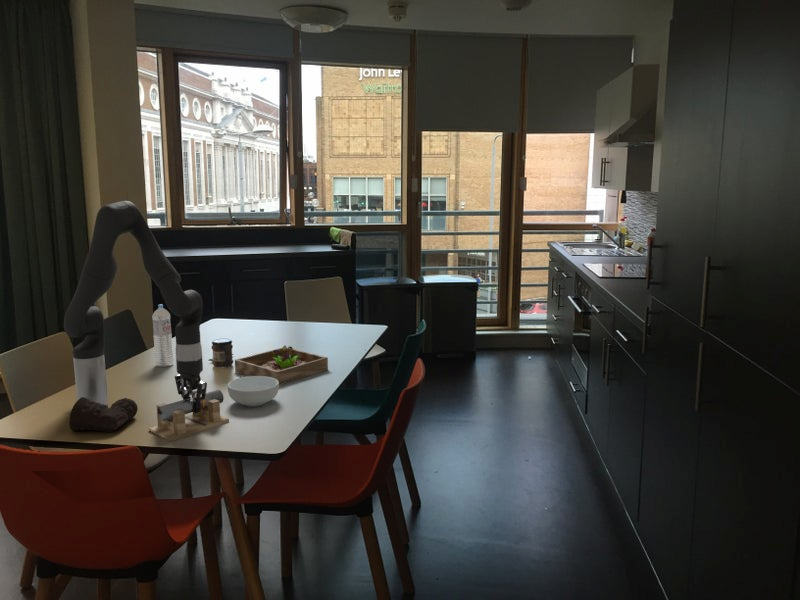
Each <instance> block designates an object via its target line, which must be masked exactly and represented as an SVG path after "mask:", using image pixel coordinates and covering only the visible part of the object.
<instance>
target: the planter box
mask: <svg viewBox="0 0 800 600" xmlns="http://www.w3.org/2000/svg"><path fill="white" fill-rule="evenodd" d="M282 348H283V347H281V348H276V349H272V350H269V351H264V352H261V353H257V354H252V355H248V356H245V357H241V358H237V359H234V369H235V370H234V371H235V373H237V374H240V375H243V376H245V377H247V376H266V377H271V378H274V379H276V380H278V382H279V386H280V385H283V384H285V383H286V384H287V383H290V382H293V381H296V380H300V379H302V378H306V377H309V376H312V375H316V374H318V373H321V372H326V371H328V370H329V360H328V359H329V357H327V356H323V355H319V354H315V353H310V352H307V351H303V350H299V349H294V348H293V350H290V348H289V354H290V356H291V359H292V358H293V357H294V356H297V355H298V357H297V358H296V359H297V360H305V361H309V362H307V363H304V364H300V365H297V366H294V367H290V368H287V369H283V370H280V371H276V370H272V369H269V368H265V367H262V365H263V364H266V363H267V362H269V361H274V360H275V359H274V358H273V357H275V358H278V356H281V357H282V354H281V353H280V352H278V351H276V353H275V354H273V353H272V351H273V350H280V351H281V352H283V353H285V352H284V350H283V349H282ZM286 348H287V349H288V347H287V346H286ZM278 359H279V358H278Z"/></svg>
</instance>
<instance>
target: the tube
mask: <svg viewBox="0 0 800 600" xmlns="http://www.w3.org/2000/svg"><path fill="white" fill-rule="evenodd" d="M201 396H202V394H201ZM190 397H191V398H188V399H184V400H183V399H182V400H178V401H175V402H172V403H168V404H167V405H164V406H160V407H159V408H158V416H159V418H160V420H162V421H166V420H169V419H172V418H173V412H174V411H177V410H182V411H185V415H188V414H190V413H191V414H192V413H193V400H192V396H190ZM195 397H196V396H195ZM213 399H216V400H219V402H220V404H222V403H223V402H224V399H225V398H224V394H223V392H222V391H221V390H220V389H216V390H212V391H209V392H206V396H205V399H204V400H201V401H200V404H201V410H202V409H204V408H207V407H208V401H210V400H213Z"/></svg>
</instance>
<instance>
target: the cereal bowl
mask: <svg viewBox="0 0 800 600" xmlns="http://www.w3.org/2000/svg"><path fill="white" fill-rule="evenodd" d="M279 386H280V385H279V382H278V380H276V379H274V378H271V377H266V376H243V377H237V378H235V379H232V380H231V381H229V382H228V383H227V393H228V395H229V397H230V399H231V400H232V401H234V402H235V403H237V404H241V405H243V406H245V407H250V408H251V407H259V406H263V405H265V404H266V403H268V402H270V401H272V400H273V399H275V398H276V397H277V395H278V393H279V389H280V387H279Z"/></svg>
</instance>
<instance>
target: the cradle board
mask: <svg viewBox="0 0 800 600" xmlns="http://www.w3.org/2000/svg"><path fill="white" fill-rule="evenodd" d="M196 394H197V393H196ZM196 394H195V396H196ZM220 404H221V403H220V402H219V400H216V399H213V400H210V401H208V407H207V408H204V409H202V410H201V411H200V412H199V413H196V414H195V413H193V412H192V413H191V414H189V415H186V414H185V411H182V410H177V411H174V412H173V418H172V419H169V420H166V421H162V420H160V418H159V416H158V408H159V407H160V406H164V405H167V404H166V403H165V402H163V403H159V404H156V417H157V425H155V426H150V427H148V432H149V431H151V432H150V433H152V432H153V433H152V434H154V433H155V434H154V435H156V434H157V435H156V436H158V435H159V437H160V436H161V438H162V437H163V439H164V438H165V439H164V440H167V441H169V442H173V441H177V440H179V439H183V438H186V437H188V436H191V435H194V434H197V433H200V432H203V431H206V430H208V429H211V428H215V427H217V426H220V425H221V426H222V425H223V424H226V423H229V422H230V418H229V417H225V416H223V415H221V405H220Z"/></svg>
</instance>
